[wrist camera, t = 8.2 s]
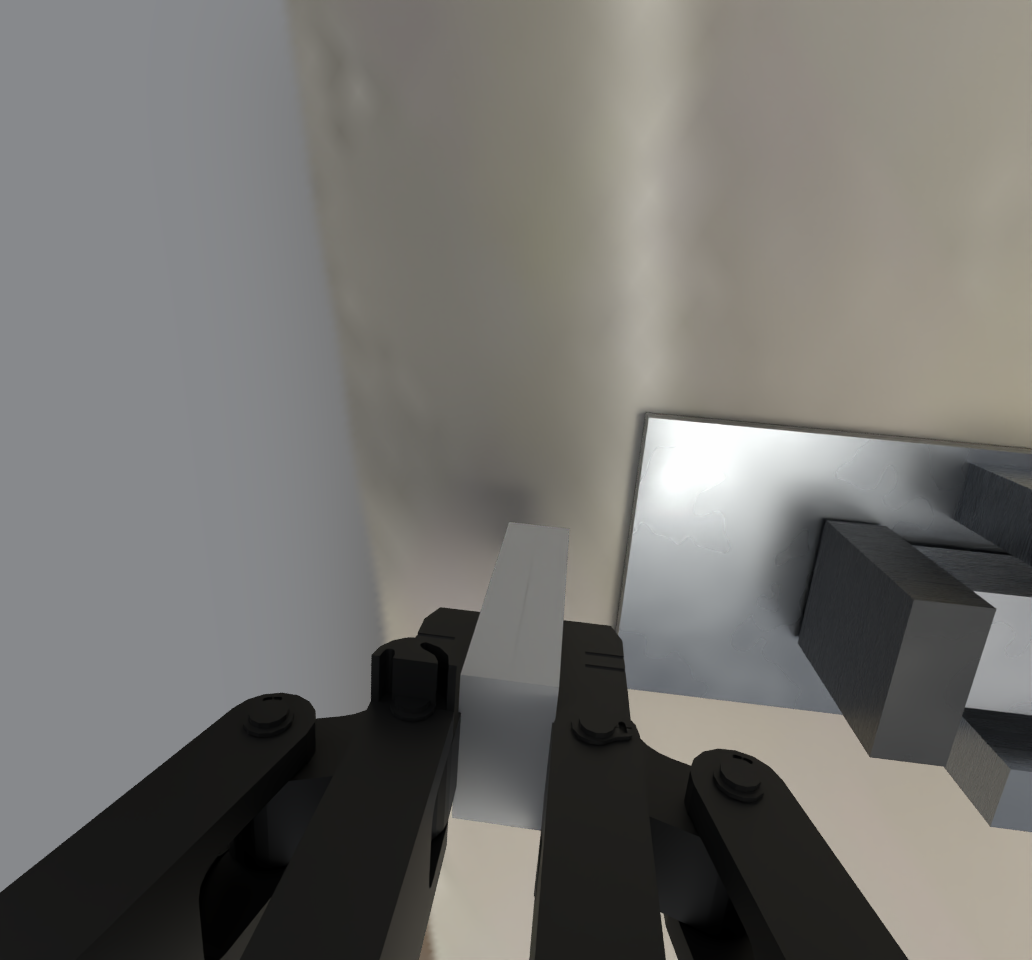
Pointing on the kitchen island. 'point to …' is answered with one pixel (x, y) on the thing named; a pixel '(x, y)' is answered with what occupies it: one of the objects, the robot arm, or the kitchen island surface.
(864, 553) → the gauge slider with pointer
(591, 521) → the kitchen island surface
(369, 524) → the kitchen island surface
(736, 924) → the robot arm
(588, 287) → the kitchen island surface
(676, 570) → the gauge housing
